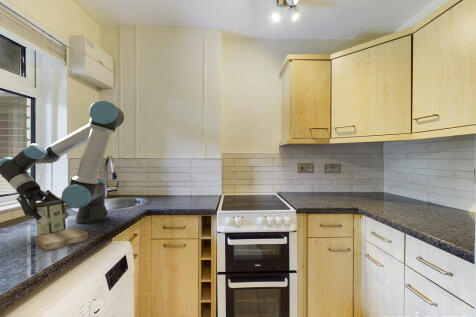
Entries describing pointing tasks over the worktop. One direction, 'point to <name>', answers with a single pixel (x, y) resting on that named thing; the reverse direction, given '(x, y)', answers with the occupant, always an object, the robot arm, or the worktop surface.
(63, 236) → the chopping board
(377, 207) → the worktop surface
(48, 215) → the coffee can
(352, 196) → the worktop surface
